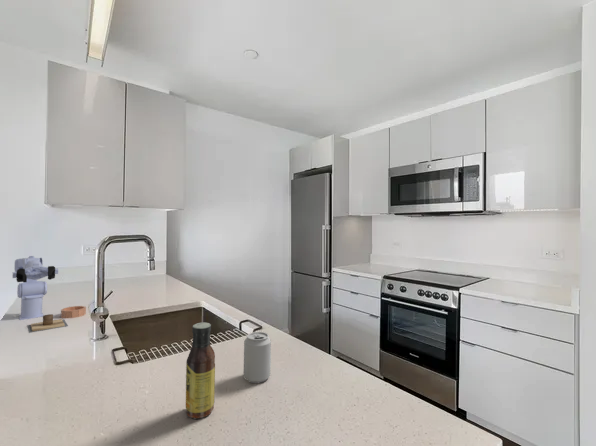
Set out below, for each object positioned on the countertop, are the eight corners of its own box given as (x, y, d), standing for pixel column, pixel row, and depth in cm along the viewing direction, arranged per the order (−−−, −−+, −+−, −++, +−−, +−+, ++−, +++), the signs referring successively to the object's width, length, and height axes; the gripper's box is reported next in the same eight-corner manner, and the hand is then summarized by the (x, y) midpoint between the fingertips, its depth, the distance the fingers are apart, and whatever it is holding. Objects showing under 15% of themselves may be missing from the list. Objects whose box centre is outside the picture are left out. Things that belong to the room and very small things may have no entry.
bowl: (59, 315, 138) (60, 308, 138) (83, 312, 144) (83, 304, 144) (62, 320, 131) (62, 312, 131) (87, 316, 137) (87, 308, 138)
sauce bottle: (189, 404, 71) (191, 319, 71) (216, 403, 71) (218, 319, 72) (181, 422, 64) (183, 329, 64) (210, 421, 65) (213, 328, 65)
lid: (30, 325, 123) (31, 315, 123) (61, 320, 130) (61, 310, 130) (32, 331, 116) (32, 320, 116) (64, 326, 123) (65, 315, 123)
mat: (27, 326, 123) (27, 325, 123) (64, 320, 131) (64, 319, 131) (28, 333, 114) (29, 332, 114) (68, 327, 123) (68, 326, 123)
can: (248, 387, 79) (249, 341, 79) (240, 374, 85) (240, 332, 86) (274, 380, 82) (275, 337, 82) (264, 369, 89) (265, 328, 89)
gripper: (12, 262, 125) (13, 271, 116) (56, 259, 135) (61, 267, 126) (11, 278, 126) (13, 288, 116) (55, 274, 136) (60, 283, 127)
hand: (38, 278), depth 121 cm, fingers open, 7 cm apart
